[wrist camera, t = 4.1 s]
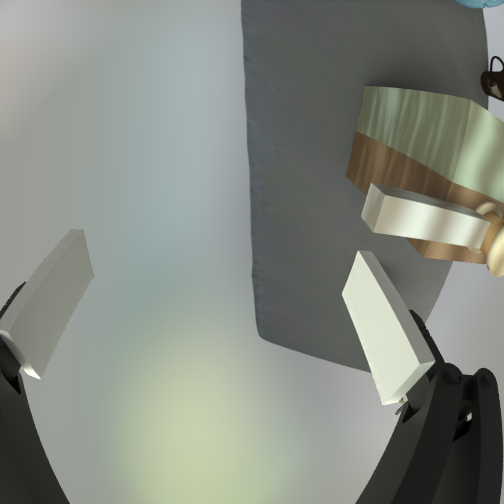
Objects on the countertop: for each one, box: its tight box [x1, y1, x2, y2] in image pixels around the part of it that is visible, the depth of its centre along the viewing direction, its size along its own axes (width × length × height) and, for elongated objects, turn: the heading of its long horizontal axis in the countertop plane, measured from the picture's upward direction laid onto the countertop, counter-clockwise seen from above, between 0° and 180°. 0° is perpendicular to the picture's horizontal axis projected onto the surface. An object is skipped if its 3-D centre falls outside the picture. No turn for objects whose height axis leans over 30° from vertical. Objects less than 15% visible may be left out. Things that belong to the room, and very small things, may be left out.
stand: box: [346, 86, 504, 264], centre depth 35 cm, size 14×19×29 cm
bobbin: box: [361, 183, 504, 277], centre depth 22 cm, size 22×7×6 cm, turn 83°
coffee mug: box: [481, 56, 504, 102], centre depth 32 cm, size 12×9×10 cm
